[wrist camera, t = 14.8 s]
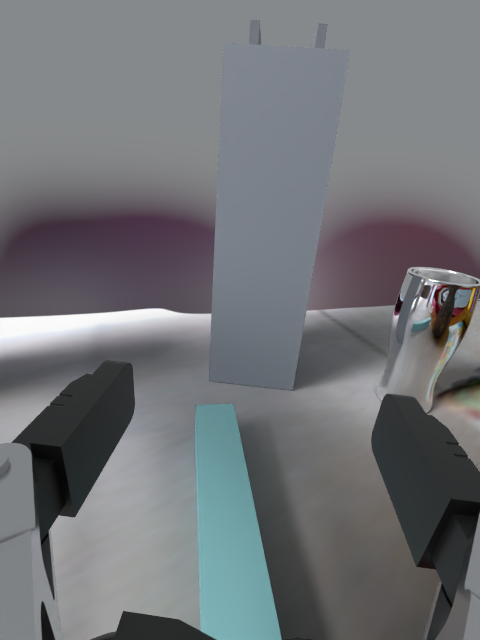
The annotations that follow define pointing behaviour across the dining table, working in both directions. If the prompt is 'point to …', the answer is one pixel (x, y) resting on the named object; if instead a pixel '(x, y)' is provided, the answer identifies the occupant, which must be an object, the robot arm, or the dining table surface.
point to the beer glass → (427, 330)
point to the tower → (270, 202)
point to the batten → (229, 535)
